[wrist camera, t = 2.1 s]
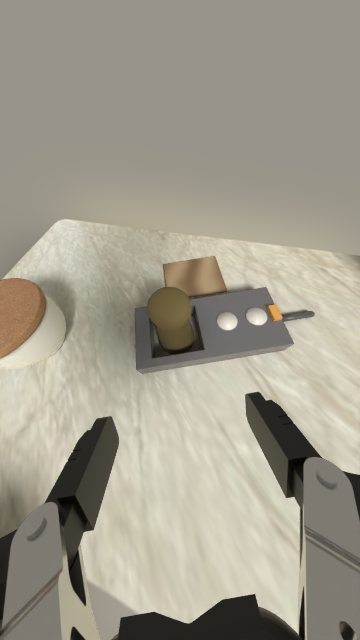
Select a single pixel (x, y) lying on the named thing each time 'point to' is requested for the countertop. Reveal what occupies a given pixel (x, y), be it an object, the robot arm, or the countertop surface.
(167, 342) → the pepper shaker
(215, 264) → the cork pad
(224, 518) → the countertop surface
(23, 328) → the lidded bowl
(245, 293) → the charging strip
